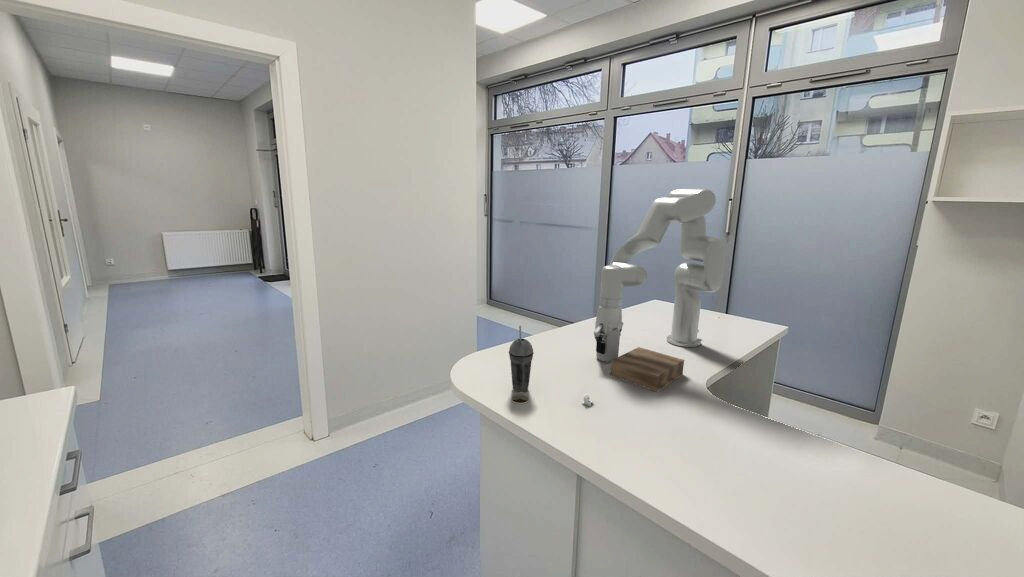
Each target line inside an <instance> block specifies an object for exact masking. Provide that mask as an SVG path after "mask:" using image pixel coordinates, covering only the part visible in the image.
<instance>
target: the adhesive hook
mask: <svg viewBox="0 0 1024 577" xmlns="http://www.w3.org/2000/svg"><path fill="white" fill-rule="evenodd" d="M591 399H592V397H591V395H589V393H585V395H584V397H583V401H582V402H581V404H582V405H586V406H589V407H591V405H594V404H595V403H594V401H592V400H591Z"/></svg>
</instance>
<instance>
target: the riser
mask: <svg viewBox="0 0 1024 577" xmlns="http://www.w3.org/2000/svg"><path fill="white" fill-rule="evenodd" d="M684 364H685V359H683V358H679V357H675V356H672V355H668V354H664V353H662V352H657V351H654V350H650V349H647V348H643V347H640V346H638V347H636V348H634V349H632V350H630V351H628V352H625V353H624V354H622V355H618V357H617V358H615V359H613V360H611V363H610V368H609V376H611V377H613V378H617V379H620V380H622V381H625V382H628V383H631V384H633V385H636V386H639V387H641V388H645V389H647V390H650V391H653V392H659V391H660V390H662V389H663V388H665V387H667V385H669V384H671V383H672V382H673V381H675V380H676V379H678V378H680V377H681V376H682V375H683V372H684V367H685V366H684Z"/></svg>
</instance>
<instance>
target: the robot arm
mask: <svg viewBox="0 0 1024 577" xmlns="http://www.w3.org/2000/svg"><path fill="white" fill-rule="evenodd" d="M716 199H717V198H716V195H715V193H714V192H713V191H712V190H711V189H708V188H677V189H674V190H671V191H670V192H669V193H668V195H667V196H666V197H665V196H664V197H658V198H656V199H655V200H654V201H653V202H652V203H651V204H650V206H649V209H648V211H647V213H646V215H645V216H644V218H643V221H642V222H641V224H640V226H639V228H638V230H637V232H636V233H635V234H634V235H633V236H632V237H630V238H629V239H627V241H625V242H624V243H623V244H622V245H620V247H618V248H617V249H616V251H615V253H614V255H613V256H612V259H611V261H609V262H610V263H609V265H605V266H603V267H602V269H601V279H600V292H599V294H600V295H599V306H598V308H597V313H596V319H595V327H594V331H593V335H594V338H595V344H596V346H595V353H601V354H605V343H604V342H605V339H606V337H607V336H609V334H610V333H611V330H616V329H617V328H618V330H619V332H620V337H621V334H622V333H621V332H622V330H623V326H624V322H623V320H622V317H623V308H622V307H623V296H624V287H627V288H638V287H641V286H642V285H644V284H645V283H646V281H647V279H648V273H647V270H646V269H645V268H644V267H642V266H640V265H638V264H632V263H629V262H630V261H631V260H632V259H633V257H635V256H636V255H637V254H639V253H641V252H643V251H647V250H650V249H652V248H655V247H657V246H658V245H660V243H661V241H662V239H663V237H664V235H665V234H666V232H667V229H668V227H670V224H672V223H674V224H676V223H677V224H680V243H679V244H680V245H679V246H680V247H679V251H680V256H681V257H682V258H683V259H685V260H689V261H695V262H701V263H703V264H700V263H694V262H682V263H681V264H679V265H678V266H677V267H676V268H675V270H674V276H673V277H674V288H675V289H674V290H675V292H674V303H673V314H672V324H671V331H670V332H671V333H670V334H668V335H667V336H666V341H667V342H668V343H670V344H672V345H674V346H678V347H685V348H697V347H699V346H700V345H701V344H702V343H701V342H702V341H701V340H700V339H699V338H698V333H700V330H699V322H700V314H701V306H702V296H701V293H700V291H701V292H706V293H716V292H717V291H719V290H720V288H721V287H722V284H723V280H724V271H725V262H726V261H725V260H726V259H725V258H726V247H725V243H724V242H723V241H722V239H721V238H719V237H717V236H710V235H707V231H706V229H707V228H706V227H707V220H706V216H705V215H707V214H709V213H710V212H711V211H712V210H713V209H714V207H715V205H716ZM601 332H604V333H605V334H603V333H601ZM601 336H603V338H601Z"/></svg>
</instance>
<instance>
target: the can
mask: <svg viewBox="0 0 1024 577" xmlns="http://www.w3.org/2000/svg"><path fill="white" fill-rule="evenodd" d="M601 333H603V334H605V333H604V332H601ZM601 338H603V336H601ZM620 339H621V336H620V332H619V330H618V328H617V329H616V330H611V333H610V334H609V336H607V337H606V339H605V342H604V343H605V354H601V353H597V352H595V353H596V359H598V360H599V361H600V362H602V363H608V364H609V363H610V364H611V360H613V359H615V358H617V357H619V350H620Z"/></svg>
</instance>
